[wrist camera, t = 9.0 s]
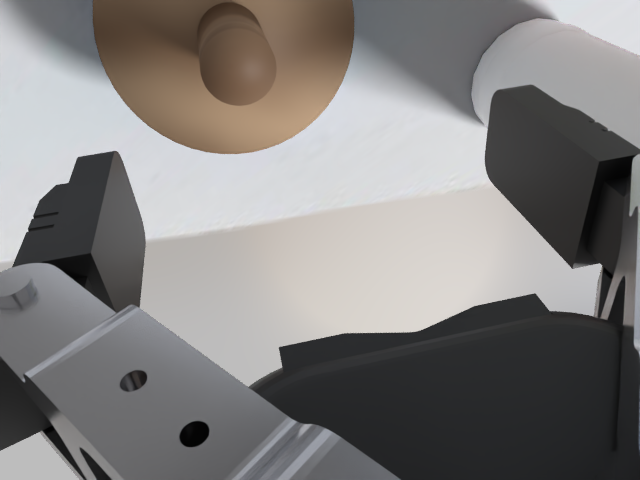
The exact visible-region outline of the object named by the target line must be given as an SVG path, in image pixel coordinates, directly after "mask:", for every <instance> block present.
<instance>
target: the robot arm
mask: <svg viewBox="0 0 640 480" xmlns="http://www.w3.org/2000/svg"><path fill="white" fill-rule="evenodd" d="M485 166H486V171H487V174H488V177H489V179H490V181H491V182H492V183H493V184H494V186H495V187H496V188H497V189H498V190H499V191H500V192H501V193H502V194H503V195H504V196H505V197H506V198H507V199H508V200H509V201H510V203H511V204H512V205H513V206H514V207H515V208H516V209H517V210H518V211H519V212H520V213H521V214H522V215H523V216H524V217H525V219H526V220H527V221H528V222H529V223H530V224H531V225H532V226H533V227H534V228H535V229H536V230H537V231H538V232H539V234H540V235H541V236H542V237H543V238H544V239H545V240H546V241H547V242H548V243H549V244H550V245H551V246H552V247H553V248H554V249H555V251H556V252H557V253H558V254H559V255H560V256H561V257H562V258H563V259H564V260H565V261H566V262H567V263H568V264H569V265H570V267H571V268H572V269H574V268H578V267H583V266H588V265H593V264H598V263H600V264H601V265H602V269H601V272H600V276H599V279H598V284H597V293H596V302H595V311H594V317H593V316H589V315H583V314H577V313H570V312H557V311H549V310H548V309H547V307H546V306H545V305H544V304H543V303H542V301H541V300H540V299H539V298H538V296H537V295H536V294H530V295H526V296H521V297H516V298H511V299H507V300H502V301H497V302H492V303H488V304H483V305H478V306H474V307H472V308H470V309H468V310H465V311H463V312H461V313H459V314H457V315H454V316H452V317H450V318H448V319H445V320H443V321H441V322H439V323H437V324H435V325H432V326H430V327H428V328H426V329H423V330H421V331H418V332H410V333H350V334H349V333H347V334H340V335H335V336H331V337H326V338H321V339H316V340H311V341H307V342H302V343H297V344H292V345H288V346H283V347H279V351H280V356H281V362H282V368H280V369H278V370H276V371H274V372H272V373H270V374H268V375H267V376H265V377H263V378H261V379H259V380H258V381H256V382H255V383H253V384H252V385H251V386H249V387H247V386H246V385H244V384H243V383H242V382H240V381H239V380H238V379H236V378H235V377H234V376H232V375H231V374H229V373H228V372H227V371H225V370H224V369H223V368H221V367H220V366H218V365H217V364H215V363H214V362H213V361H211V360H210V359H209V358H207V357H206V356H205V355H203V354H202V353H201V352H199V351H198V350H196V349H195V348H194V347H192V346H191V345H190V344H188V343H187V342H186V341H184V340H183V339H181V338H180V337H179V336H177V335H176V334H175V333H173V332H172V331H170V330H169V329H168V328H166V327H165V326H164V325H162V324H161V323H159V322H158V321H157V320H155V319H154V318H153V317H151V316H150V315H149V314H147V313H146V312H144V311H143V310H141V309H140V308H139V307H140V297H141V286H142V276H143V266H144V254H145V232H144V226H143V222H142V218H141V215H140V212H139V209H138V206H137V203H136V200H135V197H134V194H133V191H132V188H131V185H130V182H129V179H128V176H127V173H126V170H125V167H124V164H123V161H122V159H121V157H120V155H119V153H118V152H117V151H112V152H106V153H100V154H94V155H88V156H82V157H78V158H77V160H76V163H75V166H74V169H73V172H72V175H71V178H70V181H69V183H66V184H60V185H56V186H55V187H54V188H53V189H51V190H50V191H49V192H48V193H47V194H46V195H45V196H44V197H43V198H42V199H41V200H40V201H39V203H38V206H37V208H36V211H35V213H34V215H33V217H34V219H32V220H31V223H30V225H29V228H28V231H29V232H26V235H25V237H24V240H23V242H22V245H21V247H20V249H19V252H18V254H17V257H16V259H15V262H14V264H13V266H12V268H10V269H7V270H5V271H2V272H0V451H1V450H3V449H5V448H7V447H9V446H11V445H13V444H15V443H17V442H19V441H21V440H24V439H26V438H28V437H30V436H32V435H34V434H36V433H38V432H40V433H41V435H42V436H43V437H44V438H45V439H46V441H47V442H48V443H49V444H50V445H51V447H52V448H53V449H54V450H55V451H56V452H57V454H59V456H60V457H61V458H62V459H63V460H64V462H65V463H66V464H67V465H68V467H70V469H71V470H72V471H73V472H74V474H75V475H76V476H77V477H78V478H79V479H80V480H640V149H639V148H637V147H636V146H634V145H633V144H631V143H630V142H628V141H627V140H625V139H624V138H622V137H620V136H619V135H617V134H616V133H614V132H613V131H608V128H607V127H605V126H603V125H602V124H600V123H599V122H595V120H594V119H593V118H591V117H590V116H588V115H586V114H585V113H583V112H582V111H580V110H578V109H575V108H572V107H569V106H566V105H563V104H562V103H560V102H559V101H557V100H556V99H554V98H553V97H551V96H549V95H548V94H546V93H545V92H543V91H542V90H540V89H539V88H537V87H536V86H534V85H531V84H530V85H524V86H518V87H511V88H505V89H499V90H497V91H496V92H495V93H494V94H493V96H492V99H491V105H490V114H489V123H488V132H487V141H486V150H485Z"/></svg>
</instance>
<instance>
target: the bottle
mask: <svg viewBox="0 0 640 480" xmlns="http://www.w3.org/2000/svg"><path fill="white" fill-rule="evenodd" d="M530 84H531V85H534V86H536V87H537V88H539V89H540V90H542V91H543V92H545V93H546V94H548V95H549V96H551V97H553V98H554V99H556V100H557V101H559V102H560V103H562V104H563V105H566V106H569V107H572V108H575V109H578V110H580V111H582V112H583V113H585V114H586V115H588V116H590V117H591V118H593V119H594V120H595V122H599V123H600V124H602V125H603V126H605V127H607V128H608V131H613V132H614V133H616V134H617V135H619V136H620V137H622V138H624V139H625V140H627V141H628V142H630V143H631V144H633V145H634V146H636V147H637V148H639V149H640V56H639V55H637V54H634V53H632V52H630V51H627V50H625V49H623V48H620V47H618V46H616V45H613V44H611V43H609V42H606V41H604V40H602V39H599V38H597V37H594V36H592V35H590V34H589V33H587V32H586V31H584V30H582V29H581V28H579V27H576V26H574V25H571V24H565V23H562V22H559V21H557V20H550V19H541V18H536V19H533V20H529V21H526V22H522V23H519V24H516V25H515V26H513V27H512V28H510V29H509V30H507V31H506V32H504V33H503V34H501V35H500V36H499V37H497V39H496V40H495V41H494V42H493V43H492V45H491V46H490V47H489V48H488V49H487V51H486V52H485V53H484V54H483V56H482V58H481V60H480V62H479V65H478V67H477V69H476V71H475V73H474V76H473V84H472V92H471V97H472V101H473V105H474V110H475V113H476V114H477V116H478V117H479V118H480V120H481V121H482V122H483V123H484V125H485V126H486V127H487V128H488V123H489V114H490V105H491V99H492V96H493V94H494V93H495V92H496V91H497V90H499V89H505V88H511V87H518V86H524V85H530Z"/></svg>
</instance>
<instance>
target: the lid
mask: <svg viewBox="0 0 640 480" xmlns="http://www.w3.org/2000/svg"><path fill="white" fill-rule="evenodd" d="M93 27H94V35H95V41H96V45H97V48H98V52H99V56H100V59H101V61H102V64H103V66H104V69H105V71H106V74H107V76H108V77H109V79H110V81H111V83H112V85H113V86H114V88H115V90H116V91H117V93H118V94H119V95H120V97H121V98H122V100H123V101H124V102H125V104H126V105H127V106H128V107H129V108H130V109H131V110H132V111H133V112H134V113H135V114H136V115H137V116H138V117H139V118H140V119H141V120H142V121H143V122H145V123H146V124H147V125H148V126H149V127H151V128H152V129H154V130H155V131H157V132H158V133H160V134H161V135H163V136H165V137H167V138H169V139H171V140H172V141H174V142H176V143H179V144H182V145H184V146H187V147H190V148H193V149H197V150H201V151H205V152H211V153H219V154H240V153H249V152H254V151H259V150H263V149H267V148H269V147H272V146H275V145H277V144H280V143H282V142H284V141H286V140H288V139H290V138H292V137H293V136H295V135H296V134H298V133H299V132H301V131H302V130H304V129H305V128H306V127H307V126H309V125H310V124H311V123H312V122H313V121H314V120H316V119H317V117H318V116H319V115H320V114H321V113H322V112H323V111H324V110H325V109H326V107H327V106H328V105H329V103H330V102H331V100H332V99H333V97H334V96H335V94H336V92H337V91H338V89H339V87H340V85H341V83H342V81H343V79H344V76H345V73H346V71H347V68H348V65H349V61H350V57H351V53H352V48H353V40H354V11H353V3H352V0H93Z"/></svg>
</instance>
